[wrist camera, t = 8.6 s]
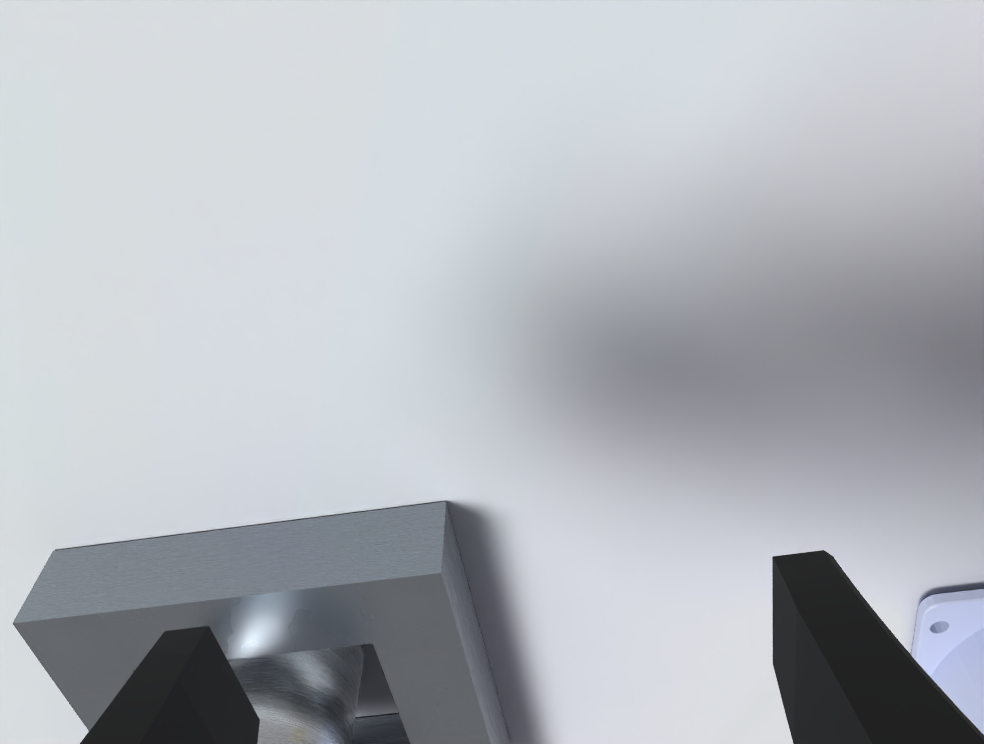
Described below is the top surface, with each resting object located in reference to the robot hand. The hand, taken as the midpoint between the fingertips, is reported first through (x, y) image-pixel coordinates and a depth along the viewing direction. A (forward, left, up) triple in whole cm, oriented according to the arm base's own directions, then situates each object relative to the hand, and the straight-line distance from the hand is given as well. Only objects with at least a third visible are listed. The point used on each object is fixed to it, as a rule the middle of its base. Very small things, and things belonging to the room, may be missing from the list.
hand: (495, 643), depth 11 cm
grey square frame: (-12, +8, -10) cm, 17 cm away
